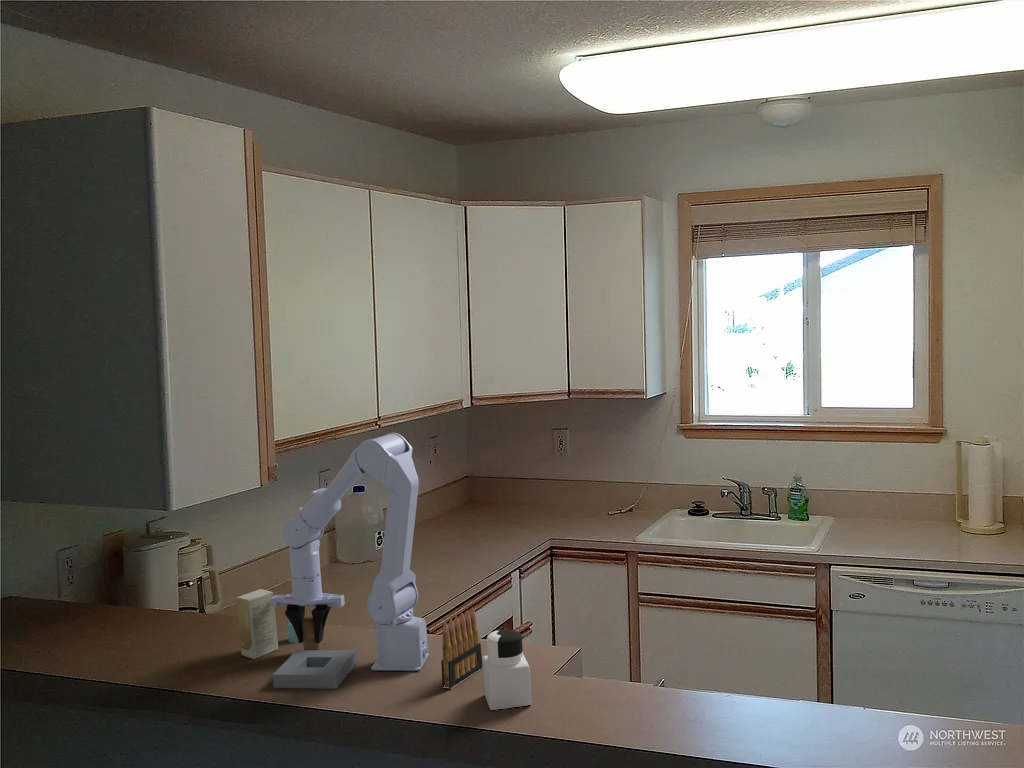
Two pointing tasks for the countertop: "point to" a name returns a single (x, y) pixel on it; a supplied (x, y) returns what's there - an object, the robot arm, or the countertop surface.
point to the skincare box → (257, 623)
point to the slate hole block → (315, 669)
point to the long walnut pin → (309, 634)
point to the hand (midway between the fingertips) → (310, 641)
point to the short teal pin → (292, 634)
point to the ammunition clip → (460, 649)
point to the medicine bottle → (506, 671)
